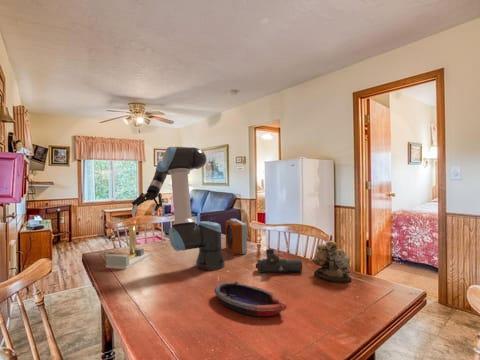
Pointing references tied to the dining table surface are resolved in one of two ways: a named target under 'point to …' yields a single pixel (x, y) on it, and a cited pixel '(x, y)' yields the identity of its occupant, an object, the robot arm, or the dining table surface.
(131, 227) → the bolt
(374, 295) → the dining table surface
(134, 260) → the jamb board
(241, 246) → the alarm clock
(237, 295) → the dish
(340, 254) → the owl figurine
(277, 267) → the laser sight
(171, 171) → the robot arm
